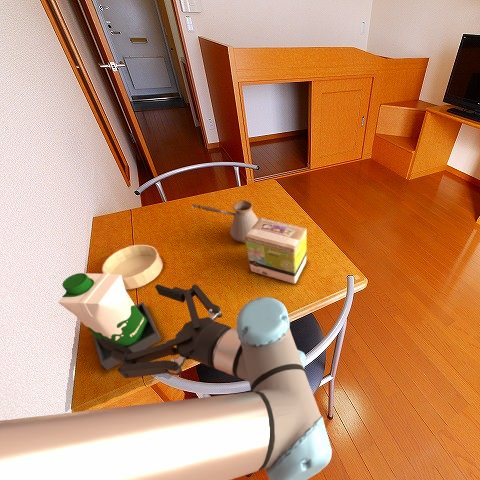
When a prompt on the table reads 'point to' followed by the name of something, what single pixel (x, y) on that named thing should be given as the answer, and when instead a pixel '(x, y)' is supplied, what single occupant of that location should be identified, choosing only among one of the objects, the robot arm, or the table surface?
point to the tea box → (277, 249)
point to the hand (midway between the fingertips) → (133, 313)
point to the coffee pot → (238, 218)
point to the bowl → (134, 265)
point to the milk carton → (104, 307)
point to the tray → (146, 341)
